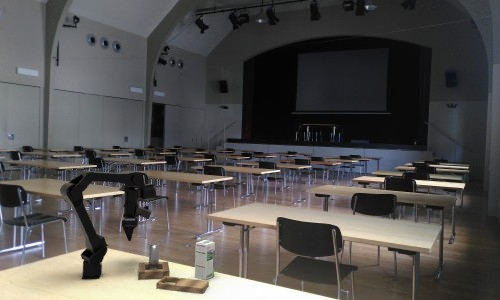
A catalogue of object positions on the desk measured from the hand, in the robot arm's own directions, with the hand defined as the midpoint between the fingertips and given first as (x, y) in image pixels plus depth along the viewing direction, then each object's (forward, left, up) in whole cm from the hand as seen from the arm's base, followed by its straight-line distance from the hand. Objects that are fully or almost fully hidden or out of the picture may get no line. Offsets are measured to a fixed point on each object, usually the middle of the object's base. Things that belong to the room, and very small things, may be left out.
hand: (130, 238), depth 177 cm
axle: (+10, -8, -13) cm, 18 cm away
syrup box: (+30, -14, -13) cm, 36 cm away
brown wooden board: (+20, -24, -13) cm, 34 cm away
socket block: (+10, -8, -13) cm, 18 cm away
